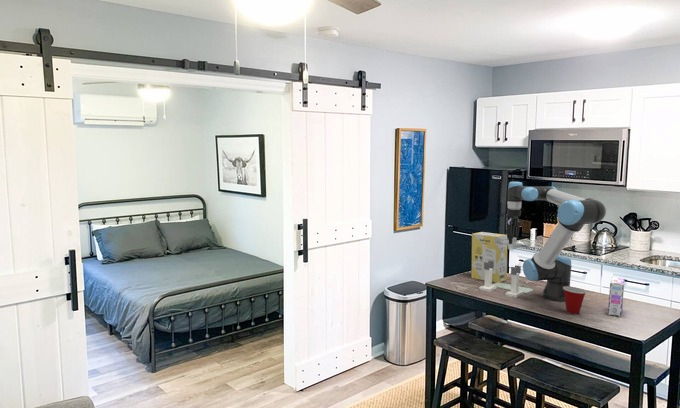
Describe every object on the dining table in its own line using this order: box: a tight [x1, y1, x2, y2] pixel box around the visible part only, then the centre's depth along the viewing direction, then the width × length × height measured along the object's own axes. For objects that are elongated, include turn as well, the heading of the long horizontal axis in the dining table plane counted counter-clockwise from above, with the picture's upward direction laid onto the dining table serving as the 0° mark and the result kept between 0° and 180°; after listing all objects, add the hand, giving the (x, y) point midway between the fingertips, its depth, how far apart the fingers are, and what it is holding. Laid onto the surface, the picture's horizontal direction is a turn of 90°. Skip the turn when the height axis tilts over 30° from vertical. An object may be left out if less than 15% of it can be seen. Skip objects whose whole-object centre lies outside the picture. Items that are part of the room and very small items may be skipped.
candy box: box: [607, 276, 625, 318], centre depth 249 cm, size 14×6×16 cm, turn 148°
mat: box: [492, 282, 535, 295], centre depth 292 cm, size 22×10×1 cm, turn 47°
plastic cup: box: [563, 286, 588, 315], centre depth 249 cm, size 11×11×12 cm
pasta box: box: [471, 231, 508, 283], centre depth 310 cm, size 18×10×28 cm, turn 41°
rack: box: [478, 261, 525, 298], centre depth 283 cm, size 22×10×16 cm, turn 47°
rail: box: [495, 238, 531, 249], centre depth 290 cm, size 20×3×3 cm, turn 47°
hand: (512, 248), depth 290 cm, fingers closed on rail, 3 cm apart
